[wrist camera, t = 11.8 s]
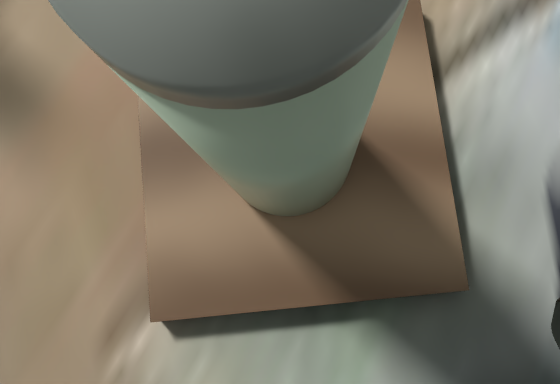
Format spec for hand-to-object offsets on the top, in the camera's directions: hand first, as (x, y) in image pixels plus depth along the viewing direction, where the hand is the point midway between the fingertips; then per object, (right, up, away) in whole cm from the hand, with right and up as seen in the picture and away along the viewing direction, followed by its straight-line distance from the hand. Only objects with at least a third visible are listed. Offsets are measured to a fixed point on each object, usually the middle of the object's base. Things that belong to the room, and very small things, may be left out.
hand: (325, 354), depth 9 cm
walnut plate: (0, +5, +10) cm, 11 cm away
